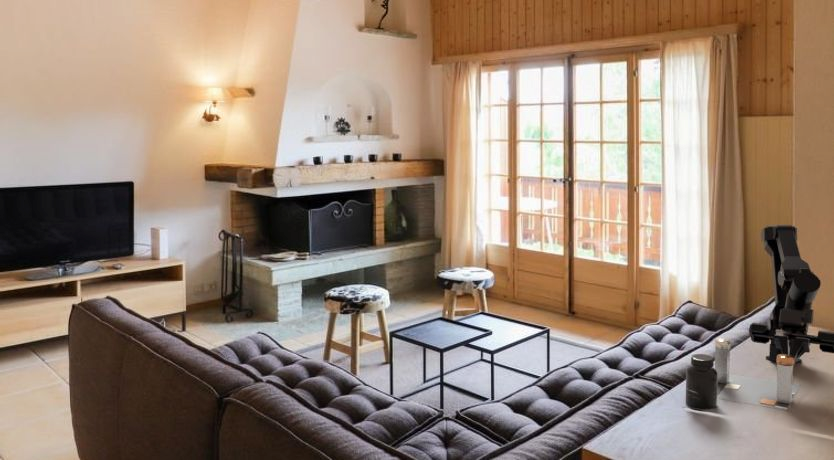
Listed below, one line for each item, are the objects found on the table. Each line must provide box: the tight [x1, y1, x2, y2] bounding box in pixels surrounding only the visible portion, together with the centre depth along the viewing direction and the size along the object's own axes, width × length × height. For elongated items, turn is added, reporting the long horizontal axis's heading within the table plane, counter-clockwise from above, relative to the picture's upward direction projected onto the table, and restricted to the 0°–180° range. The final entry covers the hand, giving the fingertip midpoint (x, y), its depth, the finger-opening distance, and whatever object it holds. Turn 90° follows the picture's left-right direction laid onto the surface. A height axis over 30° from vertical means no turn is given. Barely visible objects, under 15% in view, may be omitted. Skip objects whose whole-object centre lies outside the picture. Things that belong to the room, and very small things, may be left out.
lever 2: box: [776, 354, 795, 404], centre depth 163 cm, size 4×4×11 cm
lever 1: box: [714, 337, 732, 384], centre depth 176 cm, size 4×4×11 cm
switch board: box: [717, 373, 801, 412], centre depth 171 cm, size 18×18×1 cm
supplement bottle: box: [685, 353, 718, 412], centre depth 164 cm, size 7×7×12 cm
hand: (787, 369), depth 166 cm, fingers closed
